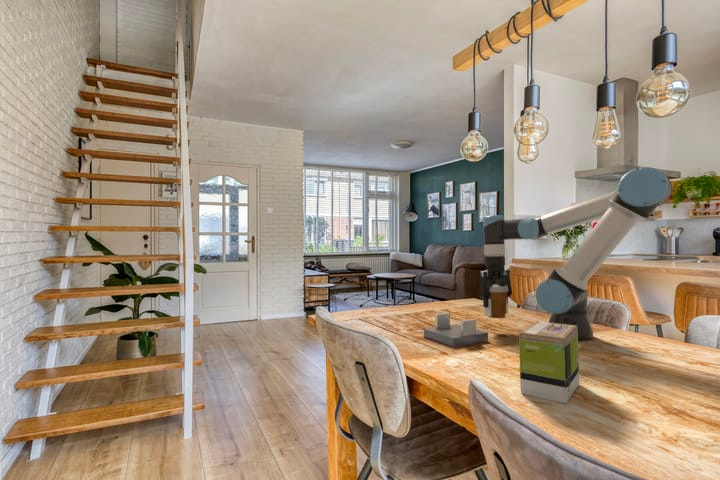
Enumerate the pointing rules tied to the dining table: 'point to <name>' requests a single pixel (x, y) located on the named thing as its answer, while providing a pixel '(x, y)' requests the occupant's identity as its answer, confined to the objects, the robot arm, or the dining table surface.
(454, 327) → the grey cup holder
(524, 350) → the tea box
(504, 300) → the disposable coffee cup
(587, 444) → the dining table surface
